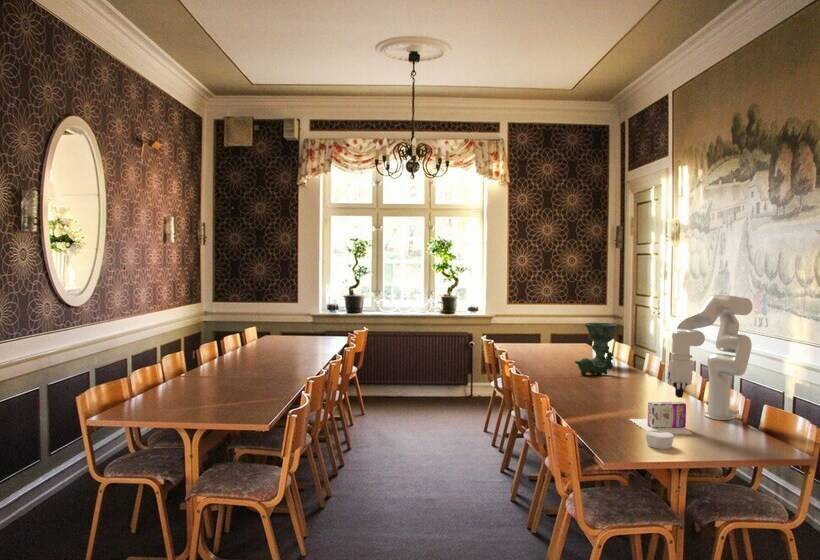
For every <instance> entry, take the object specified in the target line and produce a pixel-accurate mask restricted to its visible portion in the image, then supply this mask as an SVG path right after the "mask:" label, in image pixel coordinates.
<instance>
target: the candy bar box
mask: <svg viewBox="0 0 820 560" xmlns="http://www.w3.org/2000/svg"><path fill="white" fill-rule="evenodd" d="M647 419H648V426H650V427H652V428H684V429H686V426H687V425H686V422H687V404H686V403H684V402H682V401H651V402H650V401H649V402H648V401H647Z"/></svg>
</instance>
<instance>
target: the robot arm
mask: <svg viewBox="0 0 820 560" xmlns="http://www.w3.org/2000/svg"><path fill="white" fill-rule="evenodd" d="M753 307H754V305H753V302H752V301H751V299H749V298H747V297H742V296H741V297H740V296H737V295H735V296H734V295H725V294H714V295H711V296H709V297H708V298H707V299H706V301H705V302H704V304H702V306H701V307H700V309H699V310H698V311H697V312H696V313H694V314H692V315H690V316H688V317H686V318H684V319H682V320H681V321H679V322H678V323H677V324H676V326H675V327H674V329H673V332H672V333H671V338H672V339H671V341H672V342H671V344H672V345H671V359H670V360H669V362H668V365H667V373H666V379H667V380H668V381H667V385H670V386H673V387H674V388H675V396H676V397H677V398H678V399H679V398H681V399H682V398H683V397H684V390H685V388H686V387H687V386H690V385H692V380H693V367H692V362H691V359H692V358H693V355H691V354H690V353H691V351H690V350H691V347H700V346H702V345H703V344H704V343H705V339H706V336H705V334H704V333H703V332H702V331H700V330H698V329H702V328H706V327H710V326H712V325H714V323H715V322H716V320H717V319H718V318H719V320H720V321H719V322H720V323H719V324H720V325H719V330H718V332H717V336H716V339H715V340H716V341H715V348H716V350H718V351H720V352H723V353H718V352H717V353H715V352H714V353H711V354H710V355H709V356H708V358H707V368H708V402H707V403H708V404H707V411H706V412H704V417H706V418H708V419H711V420H716V421H718V420H719V421H731V420H733V415H739V414H740V410H737V409H732V408H730V406H731V405H730V404H731V381H730V377H729V376H728V375H730V376H735V377H740V376H741V377H742V376H743V375H744V374H745V373H746V372H747V368H748V364H749V359H750V356H751V352H752V347H753V346H752V340H751V338H750V337H749V336H747V334H741V333H740V334H739V331H740V322H739V320H738V318H737V317H736V316H735V315H737V316H738V315H739V316H748V315H749V314H750V313H752V310H753ZM726 353H731V354H726ZM733 354H735V355H733Z"/></svg>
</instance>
